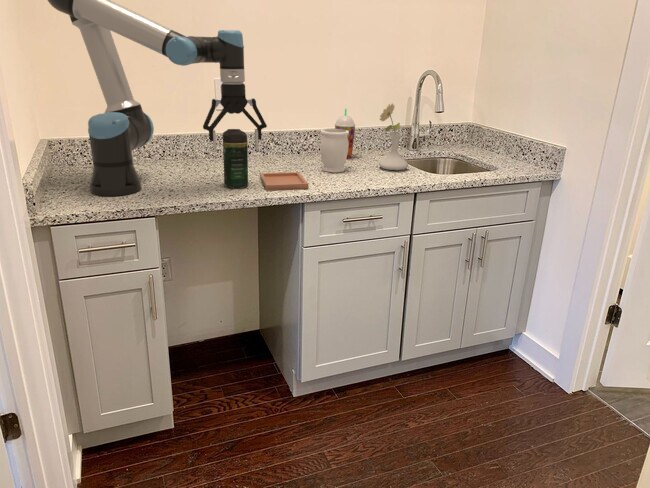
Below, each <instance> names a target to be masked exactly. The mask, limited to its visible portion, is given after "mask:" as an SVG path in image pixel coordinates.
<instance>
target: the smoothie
mask: <svg viewBox="0 0 650 488" xmlns="http://www.w3.org/2000/svg"><path fill="white" fill-rule="evenodd" d="M334 129H343V130H347V131H349V134H348V135H347V137H348V154H347V159H346V160H349V159H351V157H352V155H353V150H354V148H353V147H354V141H355V139H354V138H355V131H356V130H355V129H356V123H355V122H354V120H353V118H352V117H350V116H348V115H347V108H344V115H341V116H340V117H338V119H337V120H336V123H335V124H334Z"/></svg>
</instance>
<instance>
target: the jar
mask: <svg viewBox="0 0 650 488" xmlns="http://www.w3.org/2000/svg"><path fill="white" fill-rule="evenodd" d="M320 134H321V137H320V143H319V144H320V145H319V146H320V147H319V148H320V150H319V152H320V156H321V157H320V158H321V162H322V164H323V166H322V171H324V172H327V173H331V174H332V173H333V174H335V173H336V174H337V173H343V172H344V171H345V167H344V166H345V164H346V162H347V160H348V159H347V154H348V137H347V135H348V134H349V131H347V130H343V129H335V128H323V129H320Z"/></svg>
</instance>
